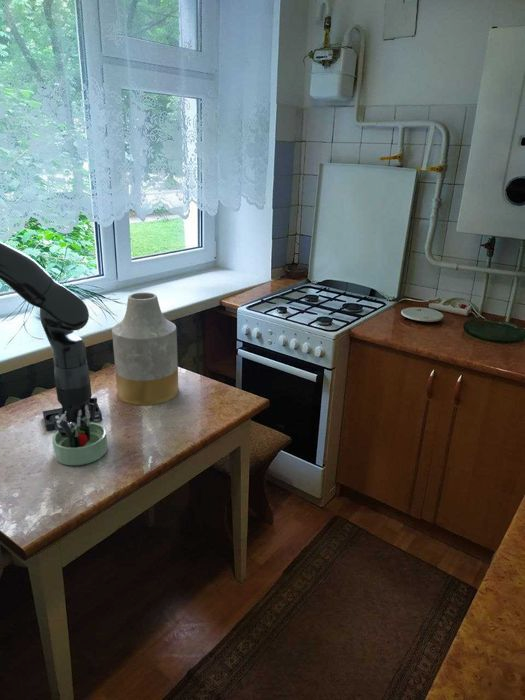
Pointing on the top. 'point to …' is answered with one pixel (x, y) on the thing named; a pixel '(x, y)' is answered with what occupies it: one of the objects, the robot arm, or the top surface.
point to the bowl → (81, 454)
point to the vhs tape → (56, 414)
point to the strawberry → (82, 438)
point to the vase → (145, 353)
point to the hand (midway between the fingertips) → (80, 444)
